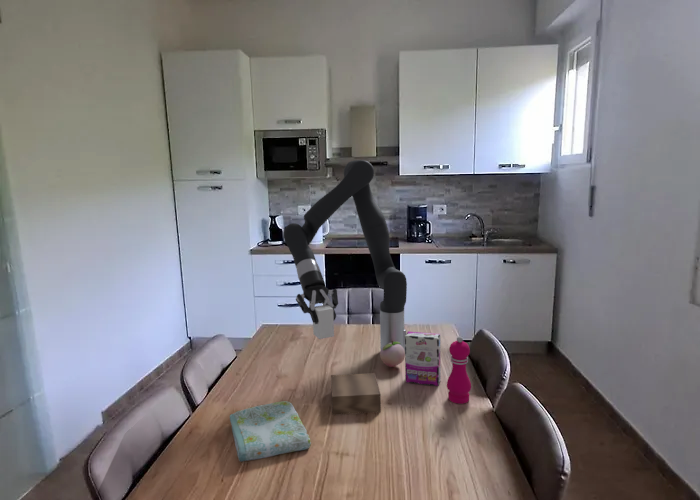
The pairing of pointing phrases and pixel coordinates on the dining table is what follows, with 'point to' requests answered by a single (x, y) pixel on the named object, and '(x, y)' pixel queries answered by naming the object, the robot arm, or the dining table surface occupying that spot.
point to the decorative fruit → (392, 354)
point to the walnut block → (355, 394)
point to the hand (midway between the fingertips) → (325, 321)
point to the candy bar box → (422, 358)
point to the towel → (268, 431)
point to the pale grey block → (324, 322)
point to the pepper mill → (459, 373)
